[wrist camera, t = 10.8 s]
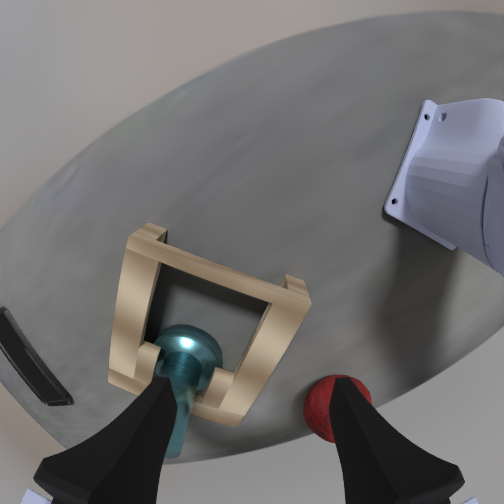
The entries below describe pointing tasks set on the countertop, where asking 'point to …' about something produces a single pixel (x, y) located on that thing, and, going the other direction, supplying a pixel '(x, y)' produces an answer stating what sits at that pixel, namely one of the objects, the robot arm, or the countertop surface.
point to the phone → (29, 363)
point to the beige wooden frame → (222, 381)
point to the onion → (325, 405)
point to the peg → (185, 372)
